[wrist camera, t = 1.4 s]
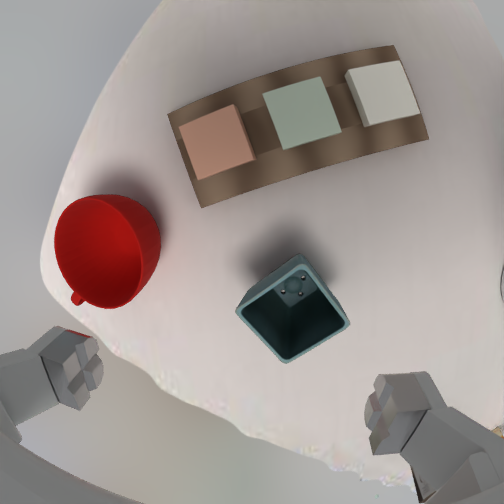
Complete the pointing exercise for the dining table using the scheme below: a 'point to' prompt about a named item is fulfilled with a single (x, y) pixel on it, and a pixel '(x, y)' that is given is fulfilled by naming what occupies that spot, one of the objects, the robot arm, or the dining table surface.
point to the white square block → (381, 92)
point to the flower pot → (292, 310)
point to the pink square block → (217, 142)
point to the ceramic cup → (106, 249)
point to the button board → (307, 155)
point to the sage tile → (302, 113)
